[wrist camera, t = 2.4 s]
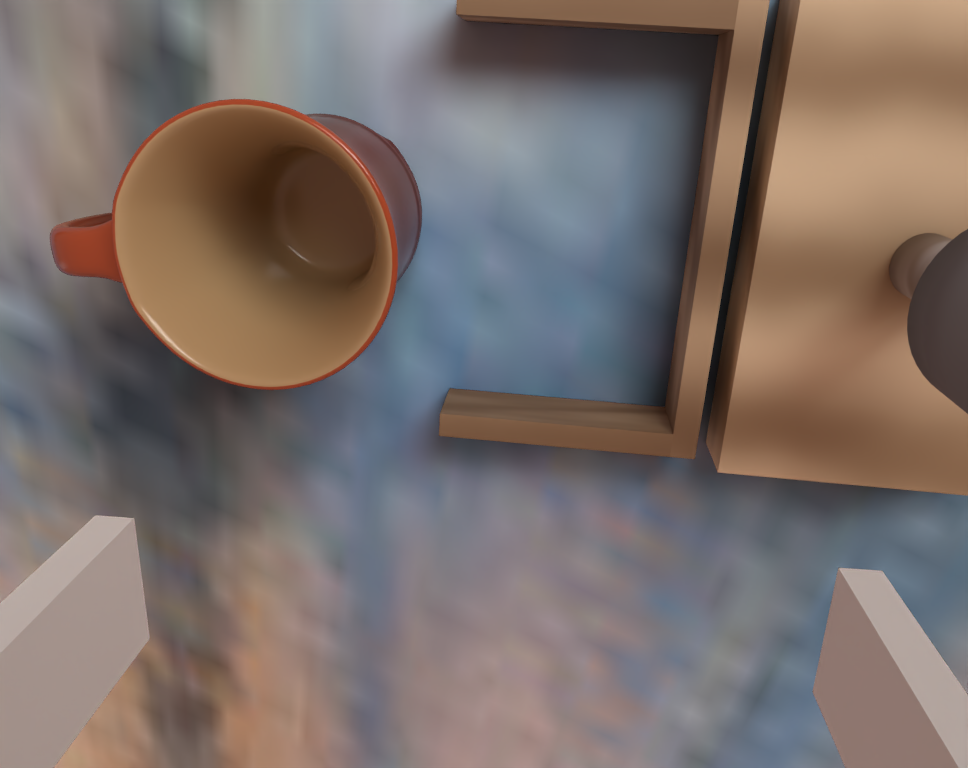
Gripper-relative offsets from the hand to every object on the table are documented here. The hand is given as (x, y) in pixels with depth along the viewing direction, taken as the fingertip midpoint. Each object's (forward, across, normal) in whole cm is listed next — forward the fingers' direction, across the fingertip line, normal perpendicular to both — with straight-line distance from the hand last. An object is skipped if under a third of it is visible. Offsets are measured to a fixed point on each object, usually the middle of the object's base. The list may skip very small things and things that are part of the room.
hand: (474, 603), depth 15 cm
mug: (+21, -9, +4) cm, 23 cm away
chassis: (+21, +9, +4) cm, 23 cm away
